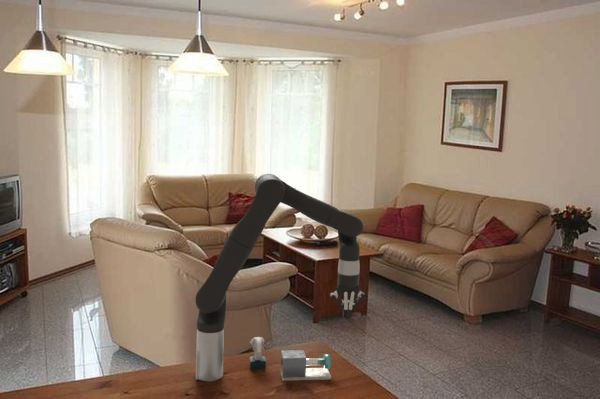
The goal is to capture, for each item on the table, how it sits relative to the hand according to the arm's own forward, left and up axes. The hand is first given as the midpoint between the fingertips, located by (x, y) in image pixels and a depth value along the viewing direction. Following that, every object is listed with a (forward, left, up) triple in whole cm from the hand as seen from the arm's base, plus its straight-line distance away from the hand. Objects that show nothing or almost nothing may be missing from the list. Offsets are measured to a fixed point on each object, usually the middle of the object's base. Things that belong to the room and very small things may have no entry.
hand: (346, 319), depth 195 cm
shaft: (-12, -1, -18) cm, 22 cm away
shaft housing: (-14, -1, -20) cm, 25 cm away
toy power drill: (-31, +6, -21) cm, 37 cm away
